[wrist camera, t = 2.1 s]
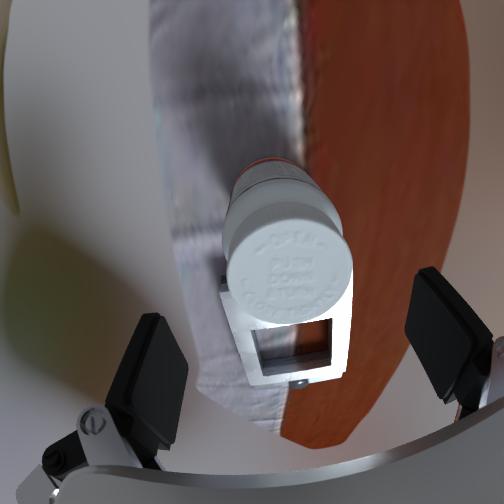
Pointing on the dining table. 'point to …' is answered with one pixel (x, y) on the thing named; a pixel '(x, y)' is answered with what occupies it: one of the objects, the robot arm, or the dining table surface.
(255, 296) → the pill bottle
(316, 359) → the slotted white bracket
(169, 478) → the robot arm
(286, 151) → the dining table surface
